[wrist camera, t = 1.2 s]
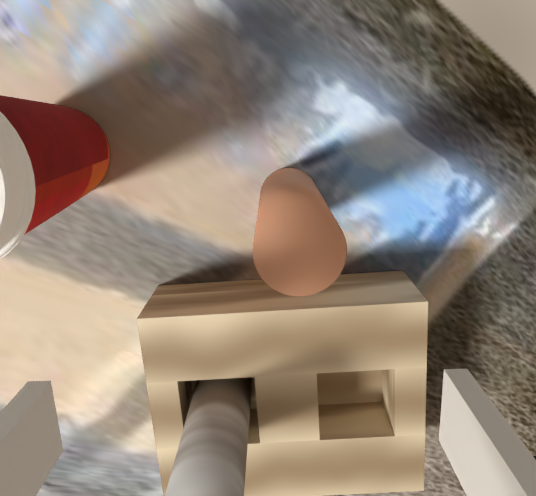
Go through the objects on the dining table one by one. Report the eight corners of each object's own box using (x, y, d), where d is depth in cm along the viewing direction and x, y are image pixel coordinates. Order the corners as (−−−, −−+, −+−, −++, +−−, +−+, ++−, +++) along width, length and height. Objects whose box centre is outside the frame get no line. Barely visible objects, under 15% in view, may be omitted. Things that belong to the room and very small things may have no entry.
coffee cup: (5, 81, 32) (-211, 58, 18) (129, 97, 32) (16, 87, 18) (8, 205, 35) (-181, 274, 20) (124, 219, 35) (20, 297, 20)
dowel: (258, 169, 34) (249, 209, 20) (316, 165, 34) (345, 203, 20) (262, 225, 35) (256, 299, 21) (318, 222, 35) (347, 293, 21)
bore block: (158, 285, 36) (90, 390, 23) (402, 270, 36) (482, 368, 22) (180, 446, 40) (133, 618, 26) (401, 434, 39) (469, 603, 26)
